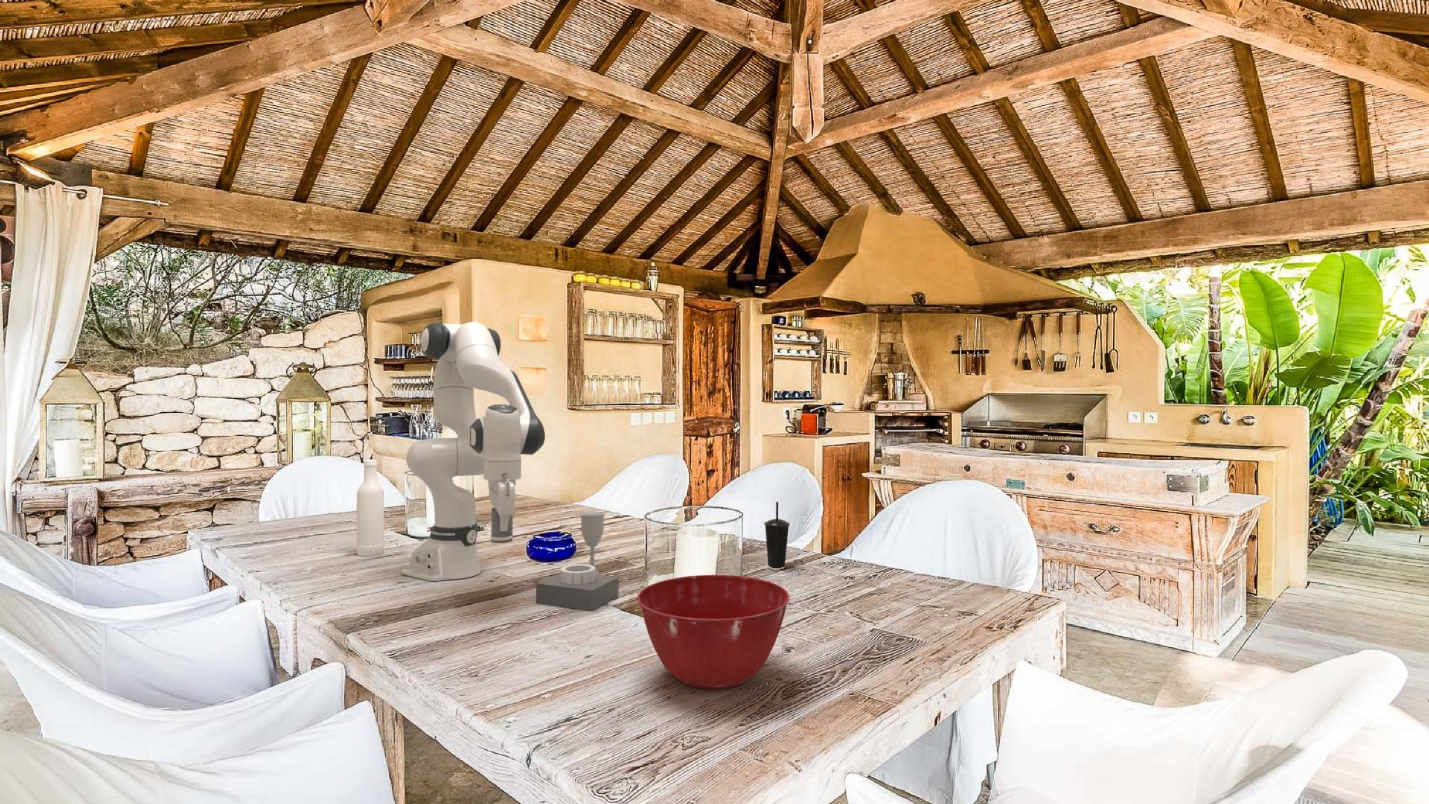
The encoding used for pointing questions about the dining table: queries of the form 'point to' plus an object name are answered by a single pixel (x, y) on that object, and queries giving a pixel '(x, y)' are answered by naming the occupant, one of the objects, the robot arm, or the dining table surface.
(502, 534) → the lens
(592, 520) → the chalice
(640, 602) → the mixing bowl
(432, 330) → the robot arm
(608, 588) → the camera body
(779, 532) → the drinking cup
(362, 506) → the bottle
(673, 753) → the dining table surface
